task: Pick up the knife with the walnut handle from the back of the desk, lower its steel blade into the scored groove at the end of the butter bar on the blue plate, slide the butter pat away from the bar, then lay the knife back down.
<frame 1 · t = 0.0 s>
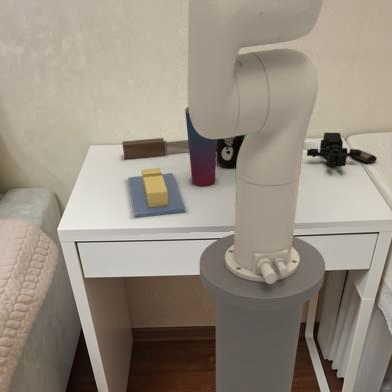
beverage can: (230, 164, 117), on the table
butter plate: (154, 195, 105), on the table
tape dispenser: (274, 145, 112), point 5 cm above the table
cup: (203, 182, 110), on the table
toy: (336, 166, 109), point 2 cm above the table
knife: (144, 155, 122), on the table
butter pat: (152, 184, 107), point 1 cm above the table, touching butter plate
butter bar: (156, 198, 102), point 1 cm above the table, touching butter plate
block: (362, 160, 117), on the table
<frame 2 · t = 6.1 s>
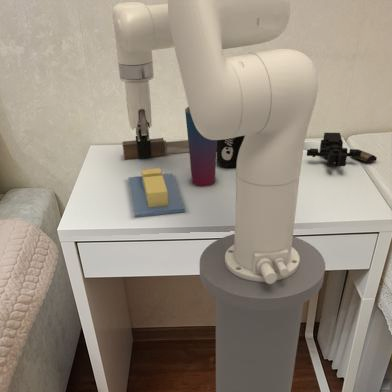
hand: (144, 154, 122), 0 cm above the table, tool pointing down, fingers closed on knife, 2 cm apart
knife: (144, 155, 122), on the table, touching gripper
everything else where it was.
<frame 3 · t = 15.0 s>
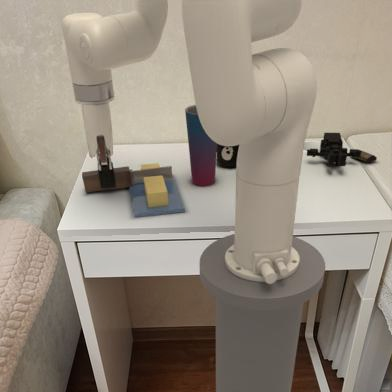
hand: (108, 183, 107), 1 cm above the table, tool pointing down, fingers closed on knife, 2 cm apart
knife: (108, 187, 107), point 1 cm above the table, touching butter pat, gripper
butter pat: (151, 179, 110), point 1 cm above the table, touching butter plate, knife
everything else where it was.
when the fingers open (1 cm above the table, at t = 22.7 s): knife stays where it is, on the table.
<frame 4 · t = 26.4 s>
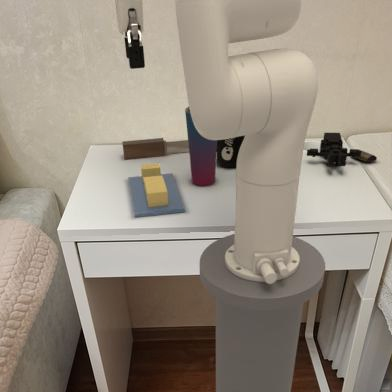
hand: (135, 62, 109), 20 cm above the table, tool pointing down, fingers open, 9 cm apart
knife: (144, 155, 122), on the table
butter pat: (151, 179, 110), point 1 cm above the table, touching butter plate
everything else where it was.
at the end: butter pat 0.4 cm from the target spot on the butter plate, point 0.8 cm above the butter plate's base; butter bar moved 0.0 cm from its start; knife on the table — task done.
